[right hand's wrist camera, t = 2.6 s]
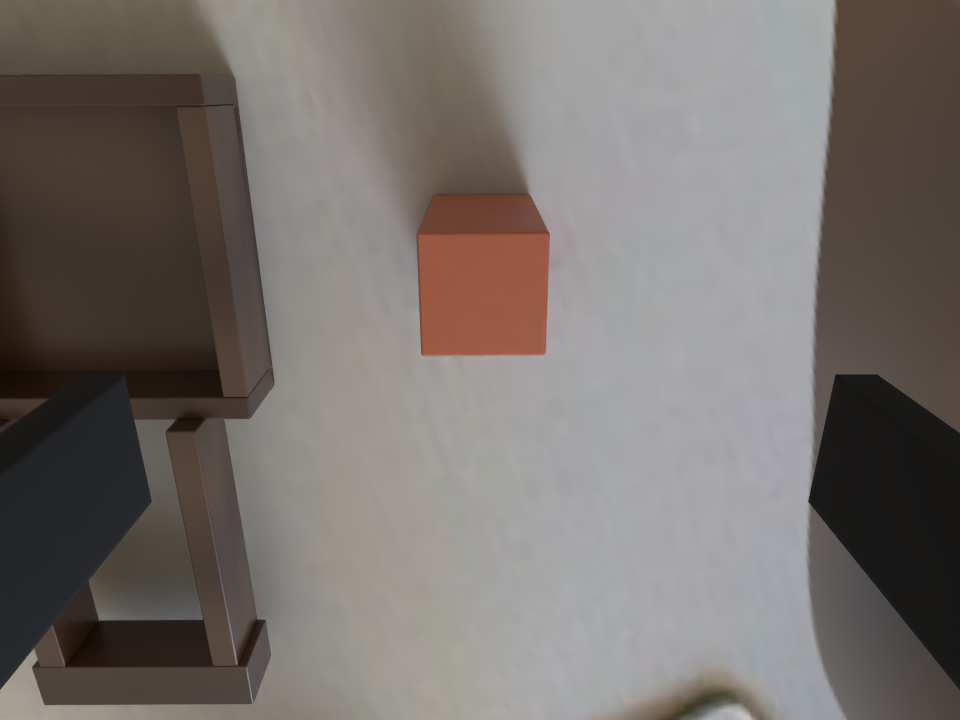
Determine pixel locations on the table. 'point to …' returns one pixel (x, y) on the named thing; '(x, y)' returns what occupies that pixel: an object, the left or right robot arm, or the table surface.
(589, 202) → the table surface
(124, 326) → the walnut tray
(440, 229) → the terracotta block
